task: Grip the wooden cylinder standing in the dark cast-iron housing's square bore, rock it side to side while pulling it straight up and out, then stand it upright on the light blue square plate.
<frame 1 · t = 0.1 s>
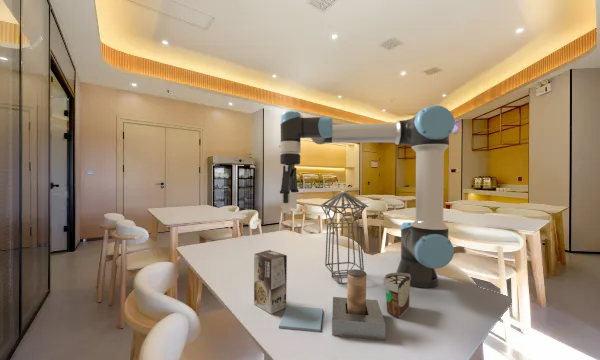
hand: (289, 210, 96), 28 cm above the table, tool pointing down, fingers open, 13 cm apart
geometric lantern: (342, 279, 103), on the table
wooden cylinder: (356, 298, 70), in the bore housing
light blue square plate: (302, 318, 73), on the table
coffee box: (269, 306, 80), on the table
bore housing: (356, 323, 70), on the table
food container: (394, 310, 79), on the table
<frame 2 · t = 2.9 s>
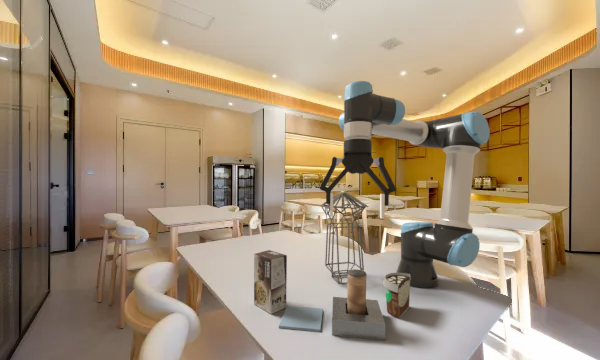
hand: (356, 217, 71), 29 cm above the table, tool pointing down, fingers open, 13 cm apart
nothing on the table moved.
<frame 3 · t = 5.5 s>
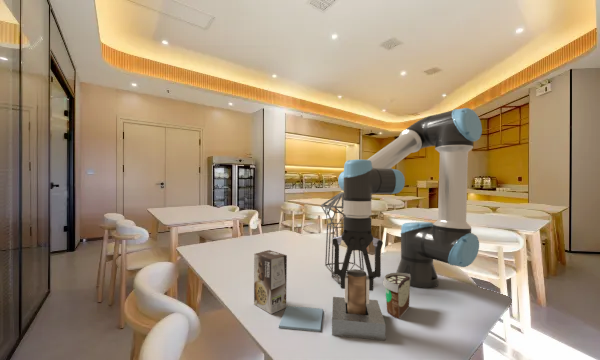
hand: (356, 300, 70), 6 cm above the table, tool pointing down, fingers closed on wooden cylinder, 5 cm apart
wooden cylinder: (356, 298, 70), in the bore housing, touching gripper
everything else where it was.
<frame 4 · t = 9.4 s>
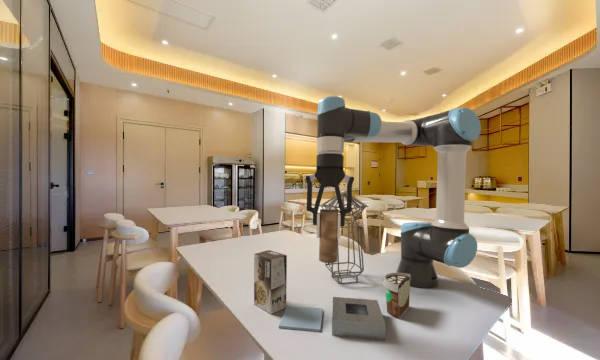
hand: (328, 237, 71), 23 cm above the table, tool pointing down, fingers closed on wooden cylinder, 5 cm apart
wooden cylinder: (328, 235, 71), point 24 cm above the table, touching gripper
everything else where it was.
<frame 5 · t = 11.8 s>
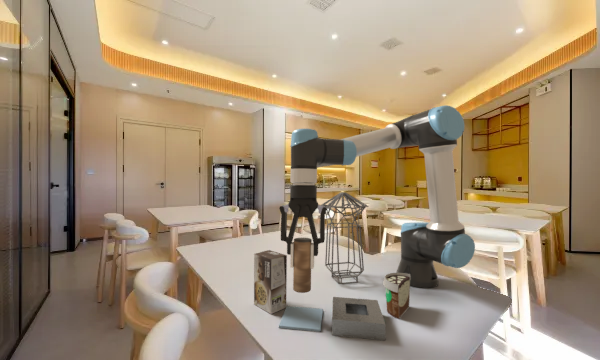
hand: (302, 266, 73), 15 cm above the table, tool pointing down, fingers closed on wooden cylinder, 5 cm apart
wooden cylinder: (302, 264, 73), point 15 cm above the table, touching gripper
everything else where it was.
when the fingers open (9 cm above the table, at t = 13.6 s): wooden cylinder drops 2 cm, resting on light blue square plate.
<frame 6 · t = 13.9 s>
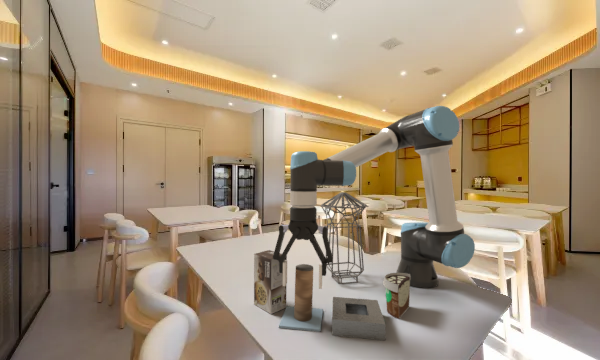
hand: (302, 285, 73), 9 cm above the table, tool pointing down, fingers open, 9 cm apart
wooden cylinder: (303, 291, 73), on the light blue square plate, point 8 cm above the table
everything else where it was.
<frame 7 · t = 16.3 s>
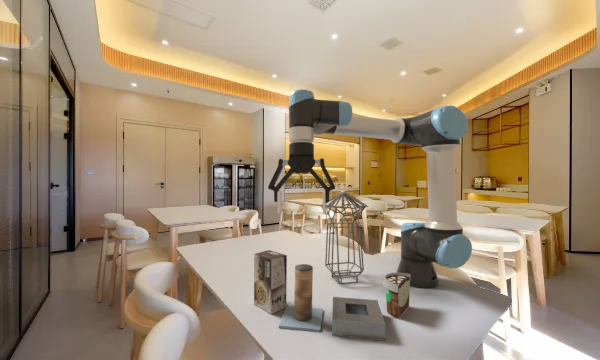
hand: (301, 213, 78), 29 cm above the table, tool pointing down, fingers open, 13 cm apart
nothing on the table moved.
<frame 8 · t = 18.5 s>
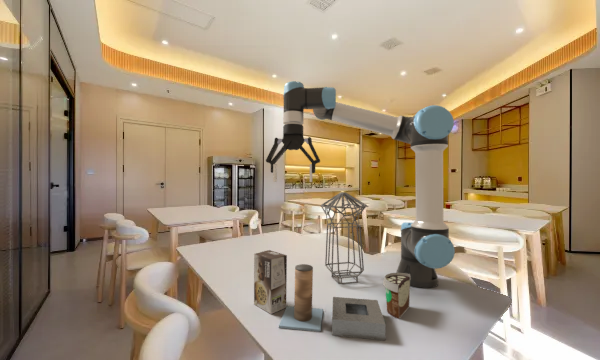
hand: (292, 182, 96), 39 cm above the table, tool pointing down, fingers open, 13 cm apart
nothing on the table moved.
at the end: wooden cylinder inside the target area on the light blue square plate (0.2 cm from its centre), point 7.6 cm above the light blue square plate's base; wooden cylinder tilted 1°; the gripper is holding nothing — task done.
